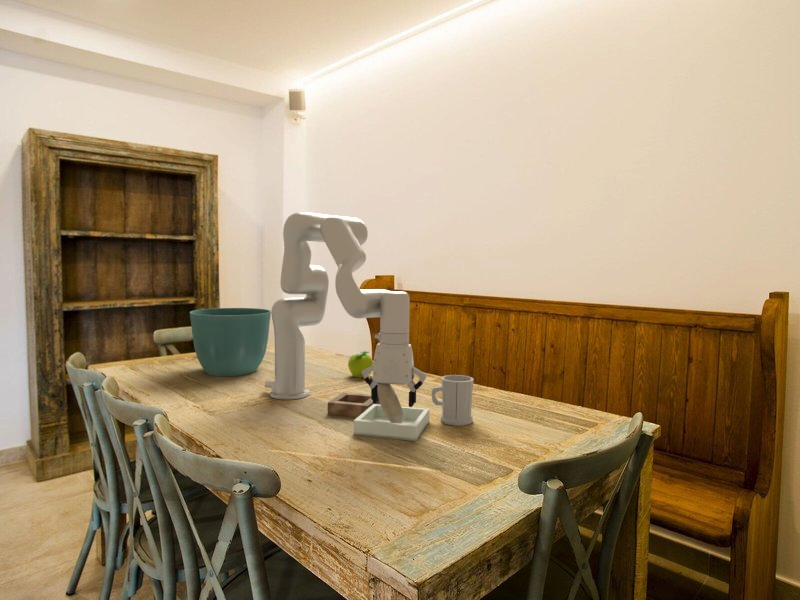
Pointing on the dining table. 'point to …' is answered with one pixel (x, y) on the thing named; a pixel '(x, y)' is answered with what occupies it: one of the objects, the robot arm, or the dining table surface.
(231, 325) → the flower pot
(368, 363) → the fruit
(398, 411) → the stone
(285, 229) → the robot arm
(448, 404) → the cup
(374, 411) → the tray
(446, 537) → the dining table surface
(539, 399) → the dining table surface
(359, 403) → the pocket frame
